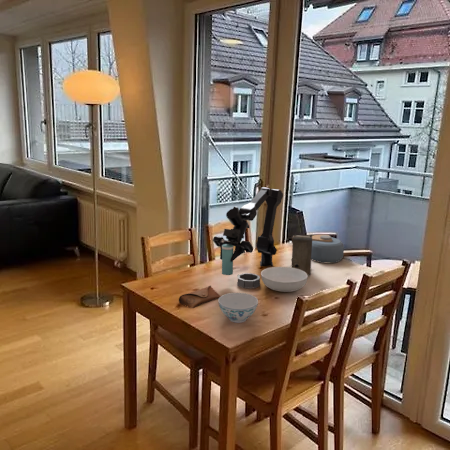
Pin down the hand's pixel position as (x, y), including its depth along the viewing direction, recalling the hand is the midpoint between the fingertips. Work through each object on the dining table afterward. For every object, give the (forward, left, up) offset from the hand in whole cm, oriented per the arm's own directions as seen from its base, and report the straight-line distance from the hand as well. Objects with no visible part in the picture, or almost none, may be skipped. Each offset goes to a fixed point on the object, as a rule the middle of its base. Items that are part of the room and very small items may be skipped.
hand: (225, 260), depth 202 cm
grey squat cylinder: (-45, +53, -13) cm, 71 cm away
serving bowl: (0, +26, -13) cm, 29 cm away
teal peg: (-1, +1, -7) cm, 7 cm away
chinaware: (+33, +6, -13) cm, 36 cm away
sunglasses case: (+15, -10, -13) cm, 23 cm away
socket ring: (-3, +11, -12) cm, 17 cm away
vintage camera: (-23, +37, -13) cm, 45 cm away
